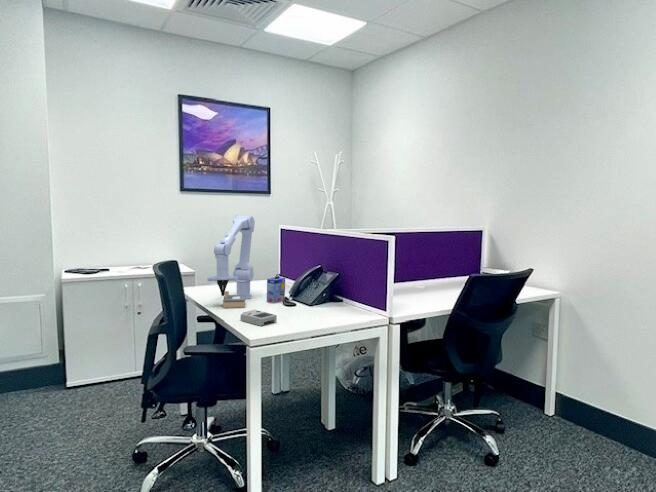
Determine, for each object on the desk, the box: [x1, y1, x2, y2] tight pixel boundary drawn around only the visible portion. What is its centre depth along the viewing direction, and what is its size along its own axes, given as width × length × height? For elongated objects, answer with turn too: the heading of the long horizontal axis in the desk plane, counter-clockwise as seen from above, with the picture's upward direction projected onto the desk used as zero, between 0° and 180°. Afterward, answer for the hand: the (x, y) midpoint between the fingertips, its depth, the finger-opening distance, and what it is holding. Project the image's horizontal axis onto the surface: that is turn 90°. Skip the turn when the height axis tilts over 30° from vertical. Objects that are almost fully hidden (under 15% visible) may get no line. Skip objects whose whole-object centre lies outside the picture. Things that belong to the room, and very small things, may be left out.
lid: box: [222, 290, 246, 302], centre depth 221 cm, size 12×10×3 cm
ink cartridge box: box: [266, 273, 286, 304], centre depth 231 cm, size 10×6×14 cm, turn 152°
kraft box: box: [222, 300, 246, 309], centre depth 222 cm, size 12×10×3 cm
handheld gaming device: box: [240, 309, 277, 327], centre depth 192 cm, size 9×15×4 cm, turn 49°
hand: (222, 295), depth 220 cm, fingers closed
